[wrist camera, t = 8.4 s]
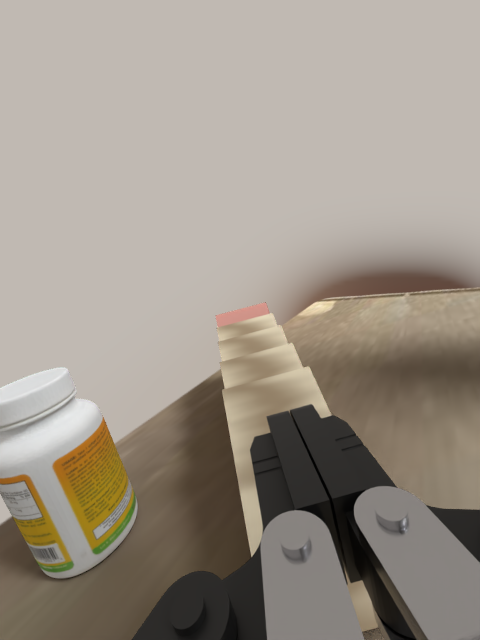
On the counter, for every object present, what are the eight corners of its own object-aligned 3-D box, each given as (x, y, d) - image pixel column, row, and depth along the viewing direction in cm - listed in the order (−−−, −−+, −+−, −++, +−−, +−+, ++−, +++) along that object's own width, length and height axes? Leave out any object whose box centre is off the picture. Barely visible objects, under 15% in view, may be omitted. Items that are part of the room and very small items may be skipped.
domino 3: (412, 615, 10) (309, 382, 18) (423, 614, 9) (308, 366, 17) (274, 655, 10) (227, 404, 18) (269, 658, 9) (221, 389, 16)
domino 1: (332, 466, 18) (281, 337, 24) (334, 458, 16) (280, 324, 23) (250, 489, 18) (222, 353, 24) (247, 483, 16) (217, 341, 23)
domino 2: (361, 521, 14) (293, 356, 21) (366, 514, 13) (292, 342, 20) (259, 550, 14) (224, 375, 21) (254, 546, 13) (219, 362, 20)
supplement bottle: (137, 480, 21) (86, 353, 19) (143, 544, 16) (74, 380, 14) (52, 521, 19) (-15, 386, 17) (29, 607, 14) (-71, 431, 12)
